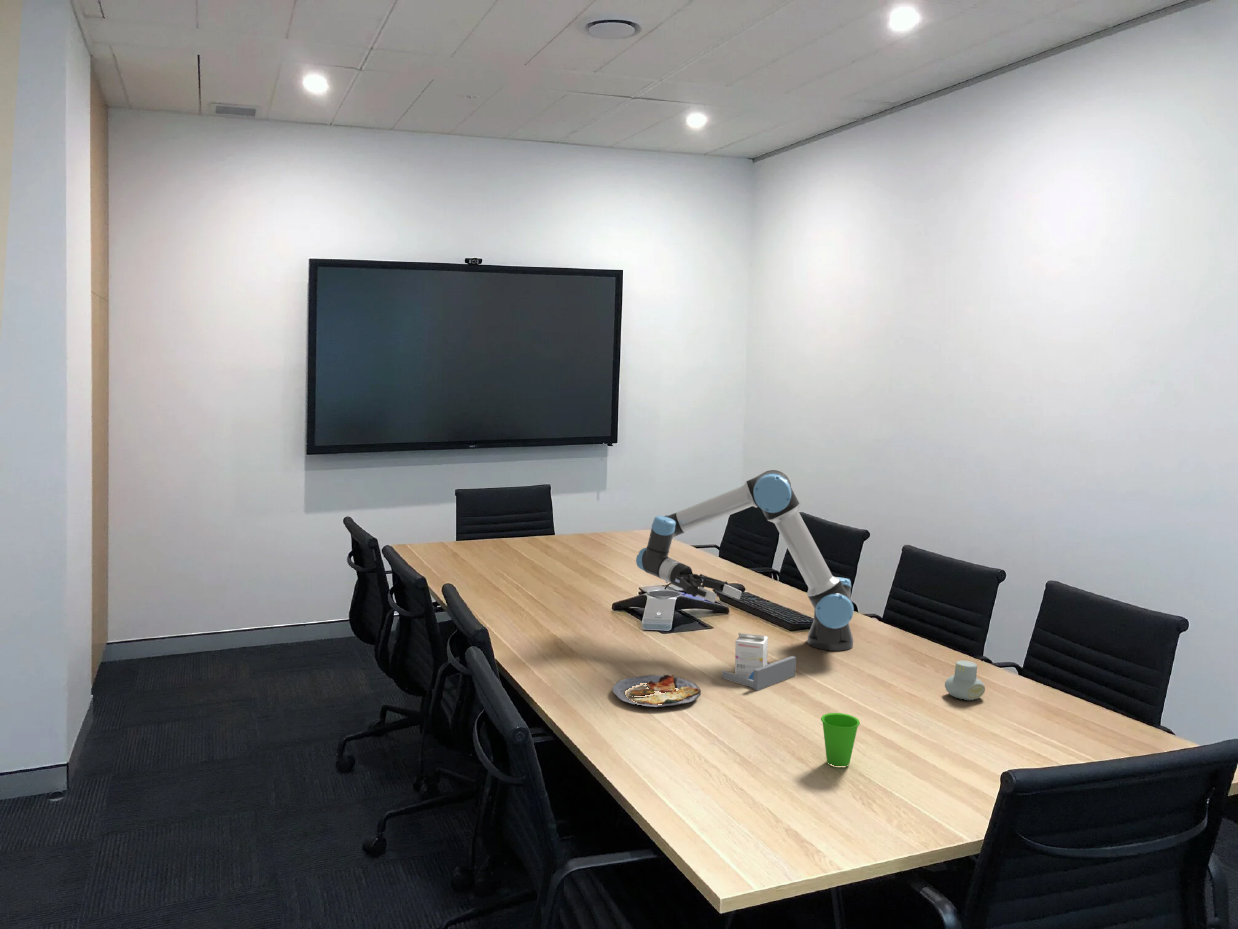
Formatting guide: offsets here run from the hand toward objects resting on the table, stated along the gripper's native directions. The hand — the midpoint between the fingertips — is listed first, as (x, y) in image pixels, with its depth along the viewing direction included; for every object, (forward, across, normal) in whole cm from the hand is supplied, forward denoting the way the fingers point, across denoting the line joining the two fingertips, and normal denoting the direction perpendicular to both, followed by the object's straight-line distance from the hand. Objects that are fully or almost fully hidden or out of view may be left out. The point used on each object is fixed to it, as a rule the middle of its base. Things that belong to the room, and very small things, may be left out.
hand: (727, 597), depth 298 cm
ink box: (+15, 0, -20) cm, 25 cm away
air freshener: (+68, -28, -7) cm, 74 cm away
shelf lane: (+18, +1, -19) cm, 26 cm away
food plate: (+7, +34, -25) cm, 43 cm away
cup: (+66, +38, -15) cm, 78 cm away
